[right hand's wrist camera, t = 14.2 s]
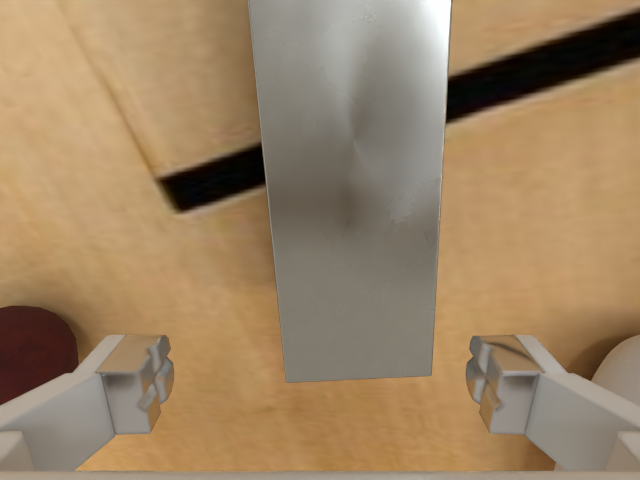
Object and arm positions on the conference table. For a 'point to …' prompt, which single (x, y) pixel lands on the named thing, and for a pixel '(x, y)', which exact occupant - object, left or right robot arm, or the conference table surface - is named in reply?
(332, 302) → the box
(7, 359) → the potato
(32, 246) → the conference table surface
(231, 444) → the conference table surface
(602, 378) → the white slotted rounded block
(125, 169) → the conference table surface
